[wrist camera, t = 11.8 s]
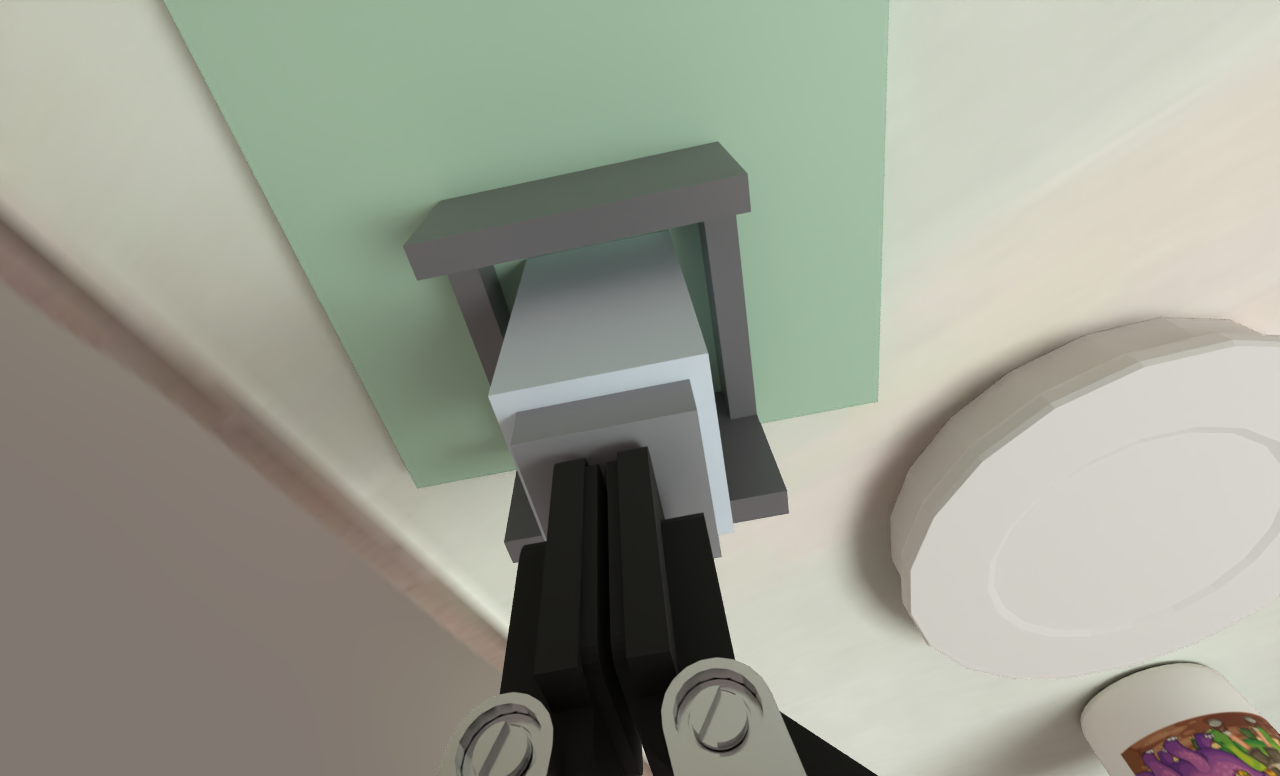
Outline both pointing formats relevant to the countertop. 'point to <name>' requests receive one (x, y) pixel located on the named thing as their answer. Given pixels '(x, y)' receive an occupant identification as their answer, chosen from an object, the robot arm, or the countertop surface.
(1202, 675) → the milk bottle
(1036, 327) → the countertop surface
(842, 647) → the countertop surface
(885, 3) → the board
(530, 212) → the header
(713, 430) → the plug
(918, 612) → the lid
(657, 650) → the robot arm
